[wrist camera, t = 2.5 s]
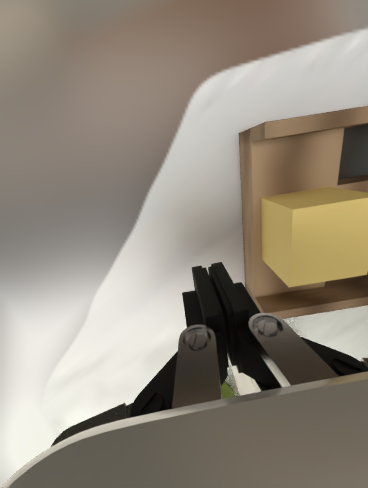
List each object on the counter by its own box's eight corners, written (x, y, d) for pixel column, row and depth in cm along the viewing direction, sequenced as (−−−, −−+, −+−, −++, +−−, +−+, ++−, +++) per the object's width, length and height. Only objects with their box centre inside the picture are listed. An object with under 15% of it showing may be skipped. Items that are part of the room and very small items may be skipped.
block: (328, 186, 18) (383, 195, 13) (321, 249, 20) (366, 274, 16) (261, 197, 18) (292, 209, 13) (261, 258, 20) (288, 287, 16)
